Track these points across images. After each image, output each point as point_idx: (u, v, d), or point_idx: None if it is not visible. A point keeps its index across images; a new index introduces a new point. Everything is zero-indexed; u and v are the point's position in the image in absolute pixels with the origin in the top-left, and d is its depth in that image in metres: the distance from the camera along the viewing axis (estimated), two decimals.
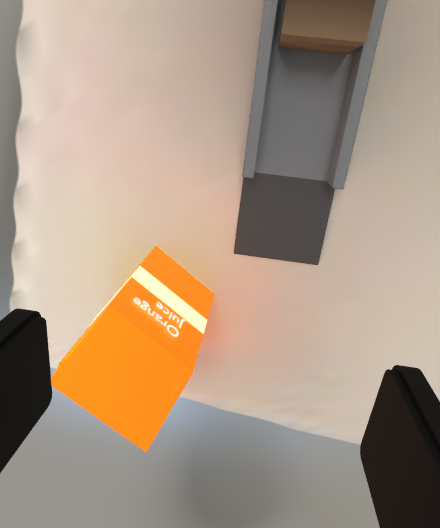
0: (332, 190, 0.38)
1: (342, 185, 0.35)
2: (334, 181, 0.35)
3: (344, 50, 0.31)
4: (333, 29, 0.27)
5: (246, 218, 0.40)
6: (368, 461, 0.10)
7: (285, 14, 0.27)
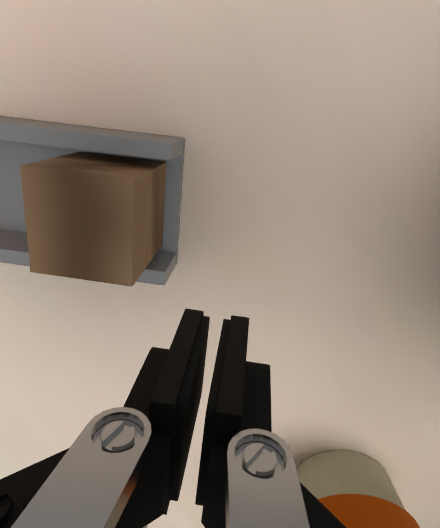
0: None
1: None
2: None
3: None
4: (37, 233, 0.21)
5: None
6: None
7: (42, 170, 0.20)
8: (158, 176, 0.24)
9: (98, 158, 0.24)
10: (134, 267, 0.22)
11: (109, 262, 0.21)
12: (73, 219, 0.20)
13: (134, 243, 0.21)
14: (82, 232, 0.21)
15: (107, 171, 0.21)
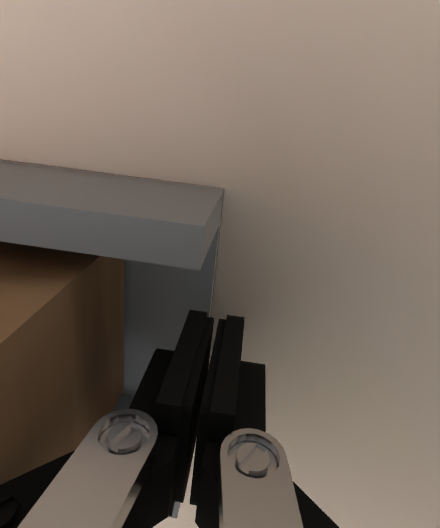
0: None
1: None
2: None
3: None
4: None
5: None
6: None
7: None
8: (98, 279, 0.10)
9: None
10: None
11: None
12: None
13: None
14: None
15: None
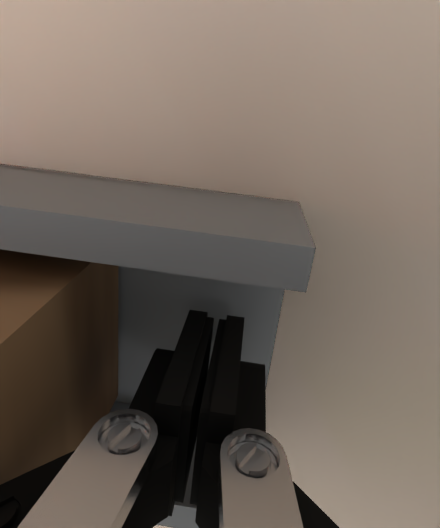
0: None
1: None
2: None
3: None
4: None
5: None
6: None
7: None
8: (91, 286, 0.10)
9: None
10: None
11: None
12: None
13: None
14: None
15: None
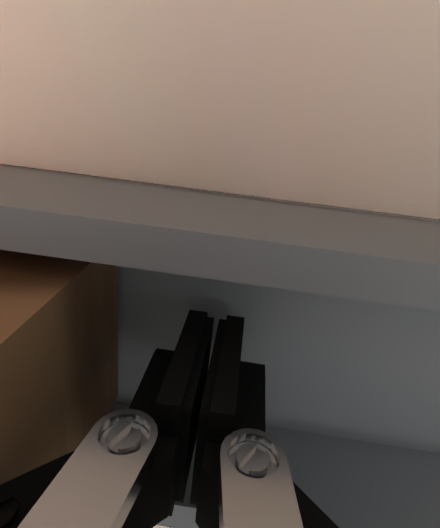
0: None
1: None
2: None
3: None
4: None
5: None
6: None
7: None
8: (90, 286, 0.10)
9: None
10: None
11: None
12: None
13: None
14: None
15: None
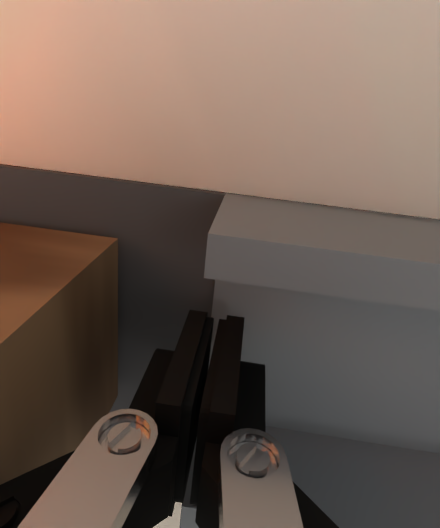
0: None
1: (191, 527, 0.11)
2: None
3: None
4: None
5: (64, 202, 0.12)
6: None
7: None
8: (90, 286, 0.10)
9: None
10: None
11: None
12: None
13: None
14: None
15: None
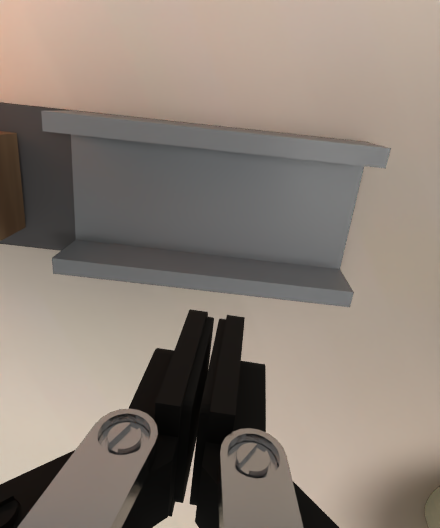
0: None
1: (58, 271, 0.23)
2: (62, 260, 0.23)
3: None
4: None
5: None
6: None
7: None
8: None
9: None
10: None
11: None
12: None
13: None
14: None
15: None
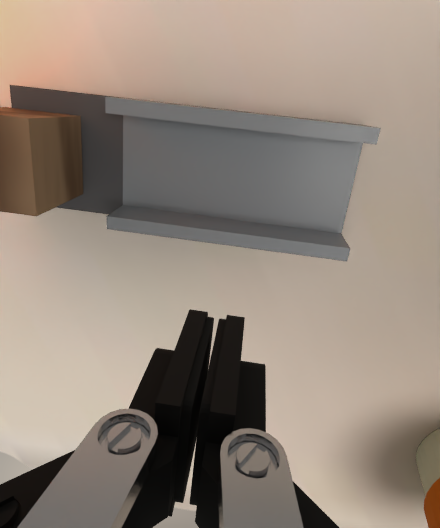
0: None
1: (111, 227, 0.29)
2: (114, 218, 0.29)
3: None
4: None
5: (62, 103, 0.29)
6: None
7: None
8: (68, 126, 0.28)
9: (15, 110, 0.28)
10: (37, 199, 0.25)
11: (15, 194, 0.25)
12: None
13: (36, 177, 0.24)
14: None
15: (11, 114, 0.24)
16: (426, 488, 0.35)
